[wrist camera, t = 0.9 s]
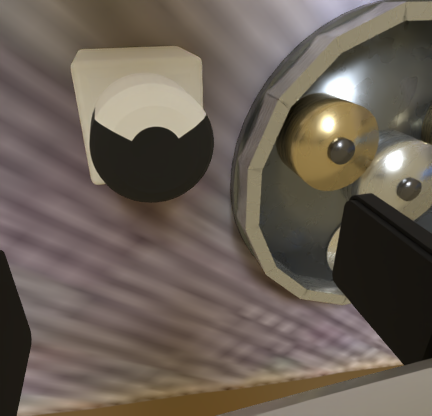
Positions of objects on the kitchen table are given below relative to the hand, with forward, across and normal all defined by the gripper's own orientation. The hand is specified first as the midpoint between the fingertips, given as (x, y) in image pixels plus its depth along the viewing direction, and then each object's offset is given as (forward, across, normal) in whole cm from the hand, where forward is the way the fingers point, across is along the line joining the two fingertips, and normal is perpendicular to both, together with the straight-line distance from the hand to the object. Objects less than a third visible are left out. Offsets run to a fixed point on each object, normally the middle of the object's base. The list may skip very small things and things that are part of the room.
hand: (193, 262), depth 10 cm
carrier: (+21, -22, +8) cm, 31 cm away
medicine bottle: (+21, 0, 0) cm, 21 cm away
